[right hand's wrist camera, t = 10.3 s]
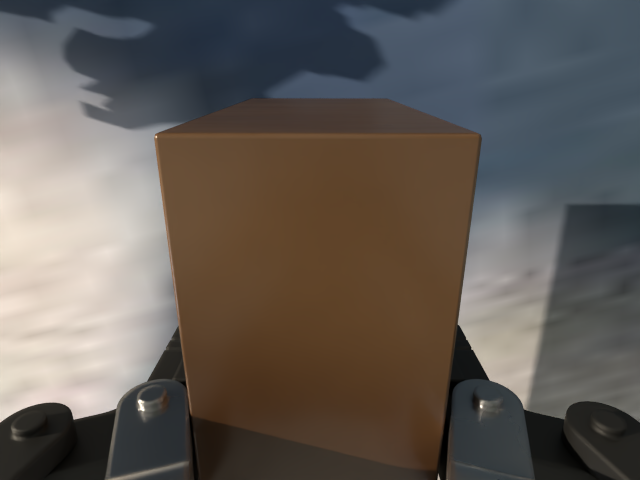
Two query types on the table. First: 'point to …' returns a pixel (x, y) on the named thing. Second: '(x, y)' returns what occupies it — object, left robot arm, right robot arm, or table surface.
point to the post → (318, 284)
